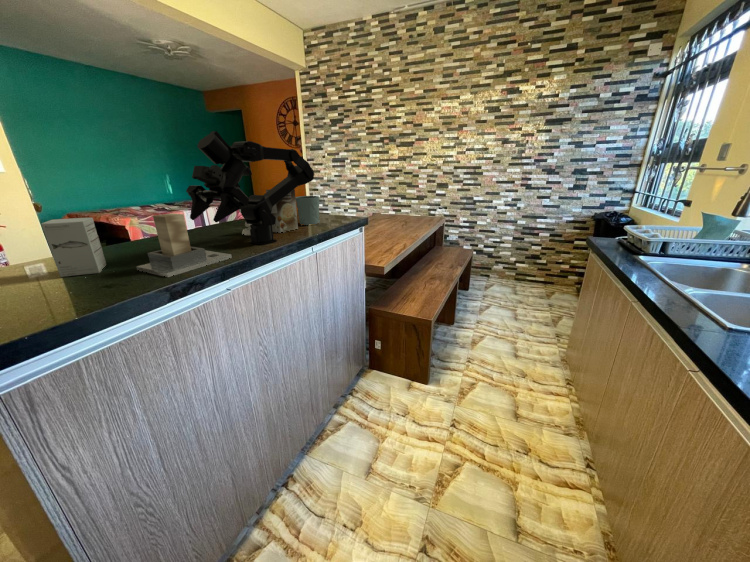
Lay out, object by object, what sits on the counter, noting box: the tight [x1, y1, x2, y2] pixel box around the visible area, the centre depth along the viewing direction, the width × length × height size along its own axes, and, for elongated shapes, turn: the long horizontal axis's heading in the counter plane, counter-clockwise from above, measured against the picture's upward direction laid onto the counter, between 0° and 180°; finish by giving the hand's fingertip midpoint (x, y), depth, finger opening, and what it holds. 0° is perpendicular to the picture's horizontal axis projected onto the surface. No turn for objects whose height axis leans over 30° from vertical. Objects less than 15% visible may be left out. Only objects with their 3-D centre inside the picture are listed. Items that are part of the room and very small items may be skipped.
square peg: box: [152, 212, 192, 256], centre depth 77 cm, size 5×5×12 cm
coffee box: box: [265, 188, 299, 234], centre depth 121 cm, size 9×6×16 cm
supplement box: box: [41, 217, 107, 278], centre depth 73 cm, size 7×7×13 cm
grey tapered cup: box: [295, 195, 320, 225], centre depth 135 cm, size 10×10×12 cm
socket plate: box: [135, 245, 232, 278], centre depth 80 cm, size 18×12×4 cm, turn 155°
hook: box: [238, 209, 252, 236], centre depth 117 cm, size 8×12×7 cm
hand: (203, 220), depth 84 cm, fingers open, 9 cm apart
